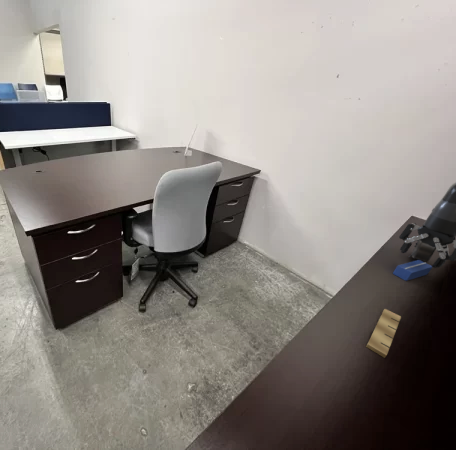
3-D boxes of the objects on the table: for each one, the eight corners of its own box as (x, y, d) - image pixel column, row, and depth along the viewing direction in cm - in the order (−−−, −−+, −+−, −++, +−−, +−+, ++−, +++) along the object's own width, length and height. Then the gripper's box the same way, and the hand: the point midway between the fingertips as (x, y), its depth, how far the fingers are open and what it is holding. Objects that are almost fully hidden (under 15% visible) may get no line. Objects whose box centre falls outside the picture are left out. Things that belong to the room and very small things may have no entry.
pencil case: (413, 267, 87) (419, 259, 85) (427, 274, 83) (433, 265, 82) (392, 273, 83) (397, 264, 81) (406, 281, 80) (412, 272, 78)
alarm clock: (423, 269, 86) (451, 229, 79) (403, 261, 90) (428, 223, 82) (427, 258, 93) (453, 221, 85) (408, 252, 96) (431, 215, 89)
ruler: (383, 311, 67) (384, 308, 67) (399, 319, 65) (401, 316, 64) (365, 346, 57) (368, 343, 56) (384, 358, 55) (387, 355, 54)
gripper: (489, 225, 68) (452, 270, 76) (426, 205, 80) (400, 246, 88) (475, 228, 66) (439, 274, 73) (413, 207, 78) (387, 249, 85)
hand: (418, 259), depth 81 cm, fingers open, 8 cm apart
